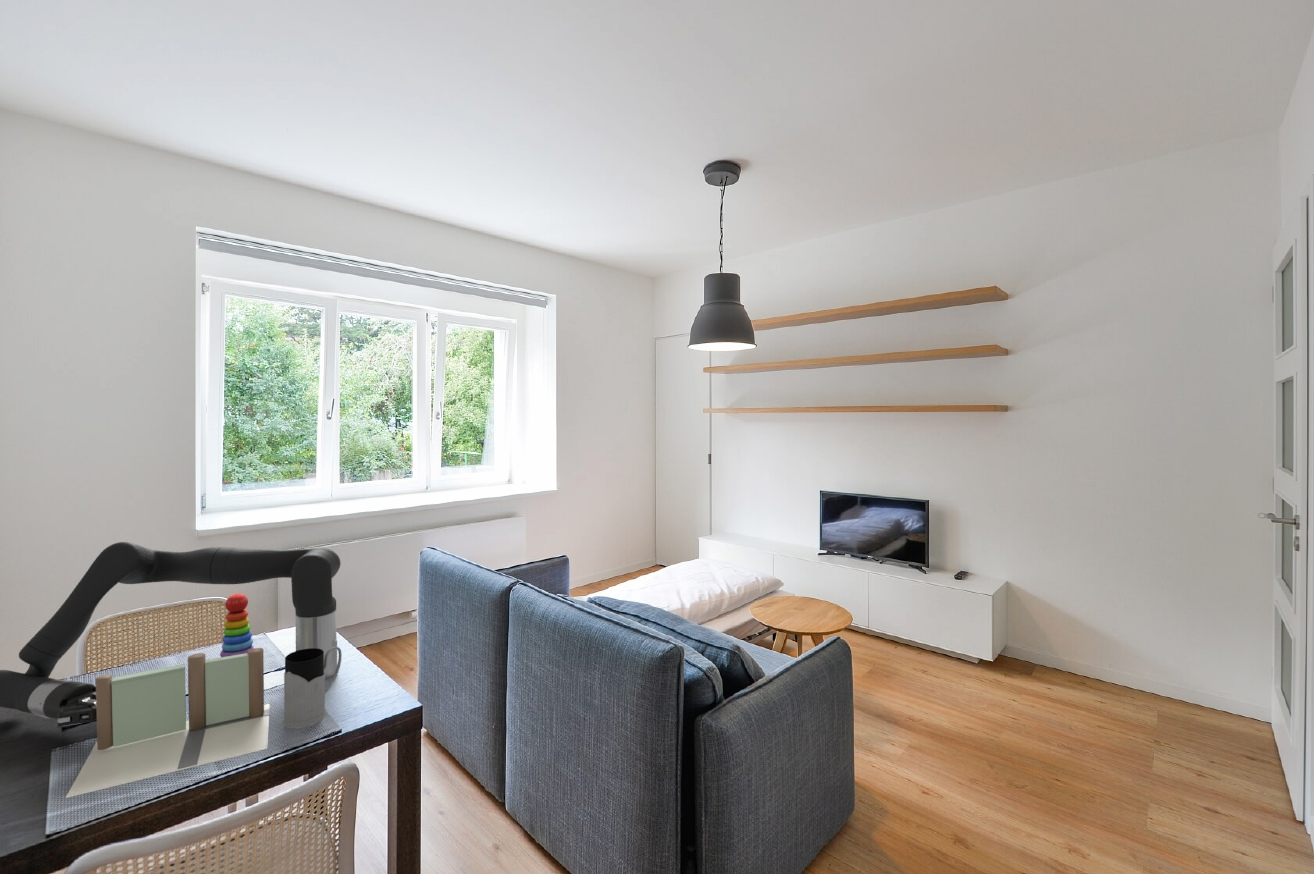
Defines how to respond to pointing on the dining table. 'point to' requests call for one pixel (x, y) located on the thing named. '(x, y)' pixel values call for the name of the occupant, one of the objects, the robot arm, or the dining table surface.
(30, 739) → the dining table surface
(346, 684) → the dining table surface
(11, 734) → the dining table surface
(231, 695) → the fixed fence
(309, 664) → the grey and black mug
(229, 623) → the stacking toy
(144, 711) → the fence panel
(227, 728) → the card
